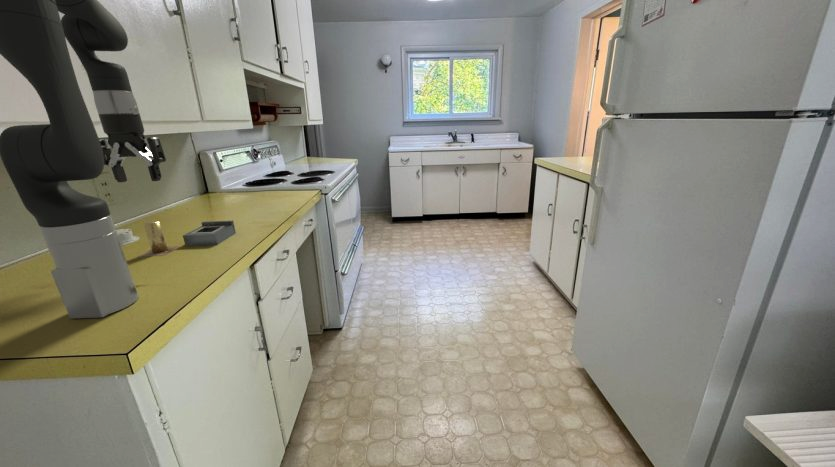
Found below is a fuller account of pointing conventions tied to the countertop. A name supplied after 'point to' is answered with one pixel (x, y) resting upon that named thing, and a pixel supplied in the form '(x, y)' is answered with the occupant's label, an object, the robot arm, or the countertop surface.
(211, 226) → the grey square frame
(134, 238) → the mechanical component
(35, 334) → the countertop surface
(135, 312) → the countertop surface
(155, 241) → the translucent brown rounded cylinder
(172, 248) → the brown square panel
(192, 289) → the countertop surface
